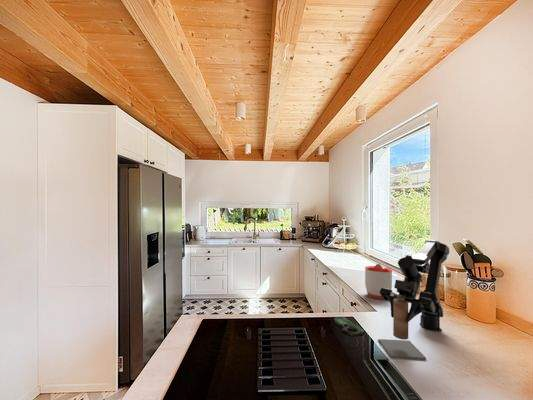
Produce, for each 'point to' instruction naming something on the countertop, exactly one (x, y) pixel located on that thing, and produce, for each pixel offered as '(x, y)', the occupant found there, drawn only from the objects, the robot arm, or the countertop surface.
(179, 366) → the countertop surface
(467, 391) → the countertop surface
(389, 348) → the trivet mat
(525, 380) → the countertop surface
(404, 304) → the pepper mill
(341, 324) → the gun
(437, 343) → the countertop surface
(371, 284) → the citrus juicer
